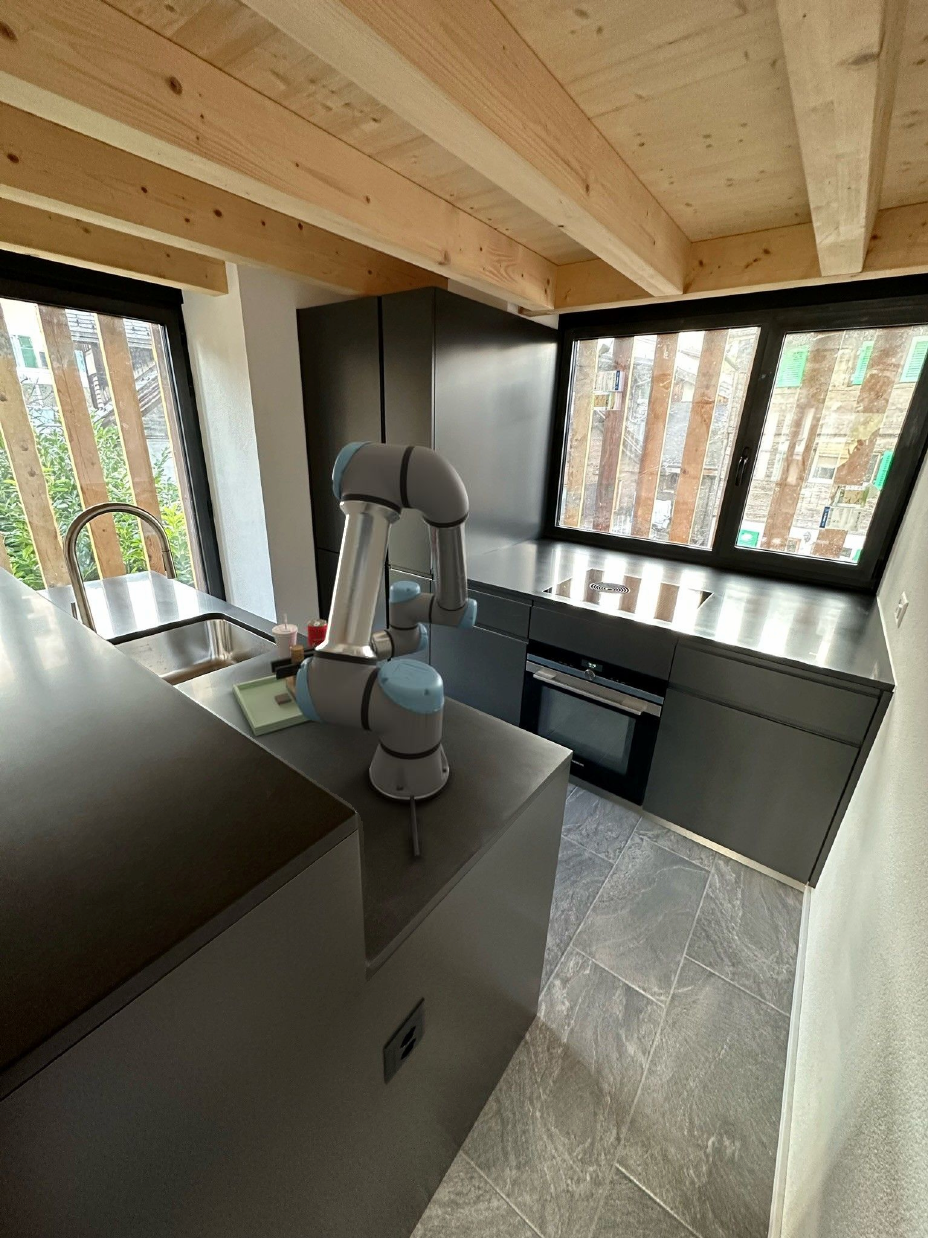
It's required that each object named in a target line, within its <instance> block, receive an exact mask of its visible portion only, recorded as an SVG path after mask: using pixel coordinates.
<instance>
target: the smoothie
mask: <svg viewBox="0 0 928 1238" xmlns="http://www.w3.org/2000/svg"><path fill="white" fill-rule="evenodd" d="M283 621H284V623H282V624H278V625H276V626H274V627H273V628H272V629H271V632H272V635H273V636H274V642H275V645H276V649H277V653H278V657H279V659H283V658H288V657H291V650H290V647H291V646H293V645H297V635H298V632H299V629H298V626H297V625H295V624H291V623H288V620H287V613H283Z"/></svg>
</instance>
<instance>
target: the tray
mask: <svg viewBox="0 0 928 1238" xmlns="http://www.w3.org/2000/svg"><path fill="white" fill-rule="evenodd" d="M232 691H233V694H234V697H235V698H236V701H237V702H238V704H239V707H240V708H241V710H242V712H243V714H244V716H245V718H246V720H247V723H248V724H249V727H250V728H251V730H252V732H253V734H254V736H255V737H257V736H262V735H264V734H268V733H271V732H274V731H278V730H281V729H284V728H288V727H291V726H295V725H299V724H301V723H305V722H308V721H310V720H309V719H307V718H306V717H304V716H303V715H302V713H301V712H300V709H299V707H298V704H297V703H296V701H295V700H294V698H293V697H292V695H291V694H290V692H289V691H288V689H287V688H286V680H285V678H283V679H279V680H277V679H276V674H274V675H270V676H265V677H261V678H257V679H252V680H249V681H244V682H240V683H236V684H232ZM285 693H288V695H289V696H290V698H291V702H288V703H284V704H281V705H278V703H277V702H276V700H275V696H277V695H281V694H285Z"/></svg>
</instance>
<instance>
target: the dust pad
mask: <svg viewBox="0 0 928 1238" xmlns="http://www.w3.org/2000/svg"><path fill="white" fill-rule="evenodd" d="M275 700H276V702H277V703H278V705H281V704H284V703H288V702H291V698H290V696H289V695H288V693H285V694H281V695H277V696H275Z"/></svg>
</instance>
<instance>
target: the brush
mask: <svg viewBox="0 0 928 1238" xmlns="http://www.w3.org/2000/svg"><path fill="white" fill-rule="evenodd" d="M303 648H304V646H303V645H302V644H296V645H293V646H291V647H290V650H291V662H292V664H294V663H299V662H303V661H304V651H303ZM296 678H297V675H296V676H291V677H287V678H285V680H286V688H287V689H288V691H289V692H290V694H291V695H292V697H293V698H294V700H295V701H296V703H297V700H296Z"/></svg>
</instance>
